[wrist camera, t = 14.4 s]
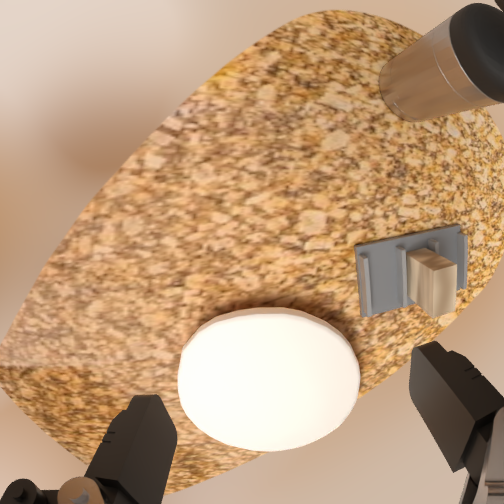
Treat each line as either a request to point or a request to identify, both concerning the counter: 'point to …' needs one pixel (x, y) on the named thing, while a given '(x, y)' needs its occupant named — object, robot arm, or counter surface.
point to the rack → (403, 266)
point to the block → (431, 281)
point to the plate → (268, 378)
